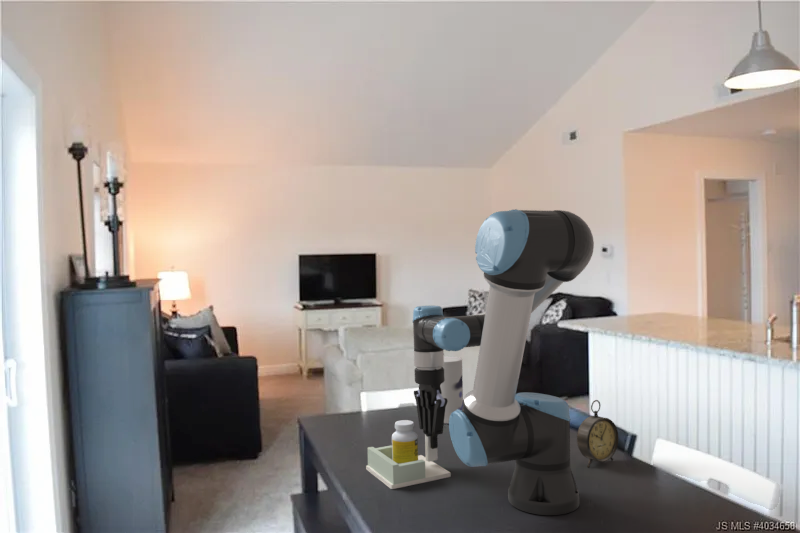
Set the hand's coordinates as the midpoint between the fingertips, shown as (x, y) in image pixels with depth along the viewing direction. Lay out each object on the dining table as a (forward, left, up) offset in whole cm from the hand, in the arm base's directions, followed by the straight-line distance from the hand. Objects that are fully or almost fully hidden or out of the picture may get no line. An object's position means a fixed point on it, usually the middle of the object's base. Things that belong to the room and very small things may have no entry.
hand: (431, 459), depth 156 cm
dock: (0, +7, -2) cm, 7 cm away
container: (+36, -26, -2) cm, 45 cm away
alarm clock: (-18, -38, -3) cm, 42 cm away
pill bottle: (+1, +7, -1) cm, 7 cm away
